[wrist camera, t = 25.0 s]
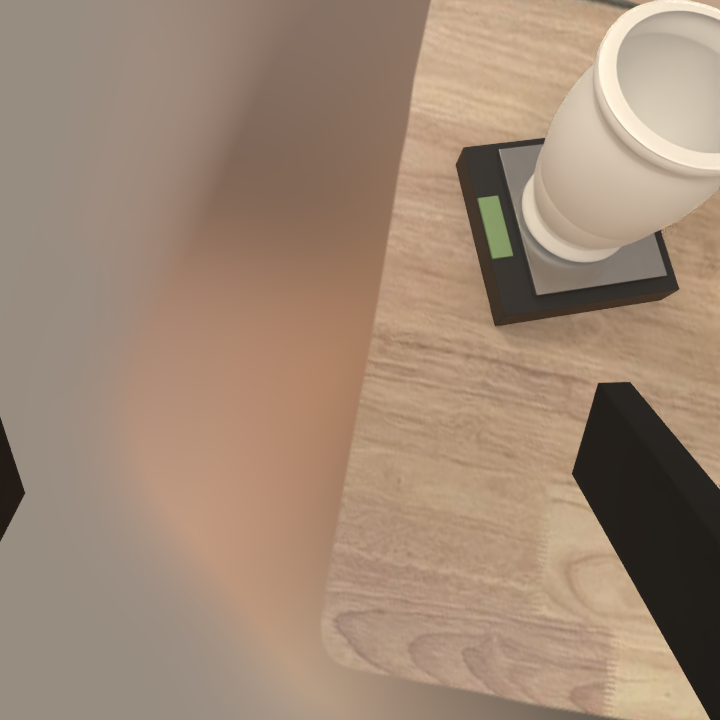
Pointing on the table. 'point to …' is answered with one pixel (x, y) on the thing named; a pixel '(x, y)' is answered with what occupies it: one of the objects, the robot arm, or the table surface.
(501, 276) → the scale
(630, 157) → the jar
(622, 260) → the scale platform
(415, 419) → the table surface
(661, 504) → the robot arm
